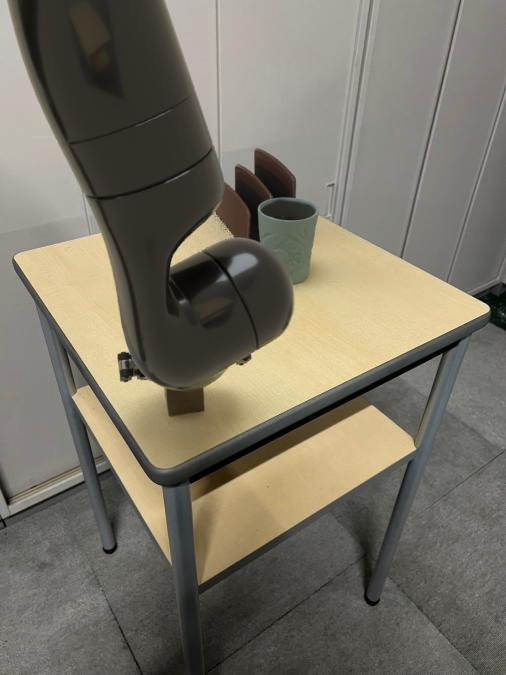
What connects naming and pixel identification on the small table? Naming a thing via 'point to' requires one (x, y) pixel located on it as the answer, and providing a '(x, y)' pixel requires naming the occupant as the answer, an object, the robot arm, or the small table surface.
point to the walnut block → (184, 401)
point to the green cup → (289, 232)
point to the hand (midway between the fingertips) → (181, 366)
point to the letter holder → (254, 193)
